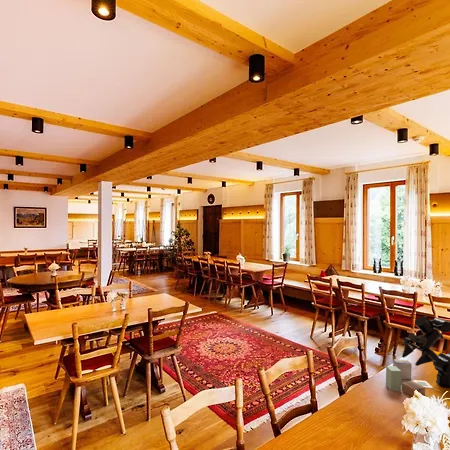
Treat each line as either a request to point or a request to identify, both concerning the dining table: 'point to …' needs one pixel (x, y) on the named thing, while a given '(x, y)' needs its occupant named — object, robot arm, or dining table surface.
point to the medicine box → (403, 368)
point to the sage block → (393, 378)
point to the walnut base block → (412, 388)
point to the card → (423, 383)
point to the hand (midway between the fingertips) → (409, 361)
